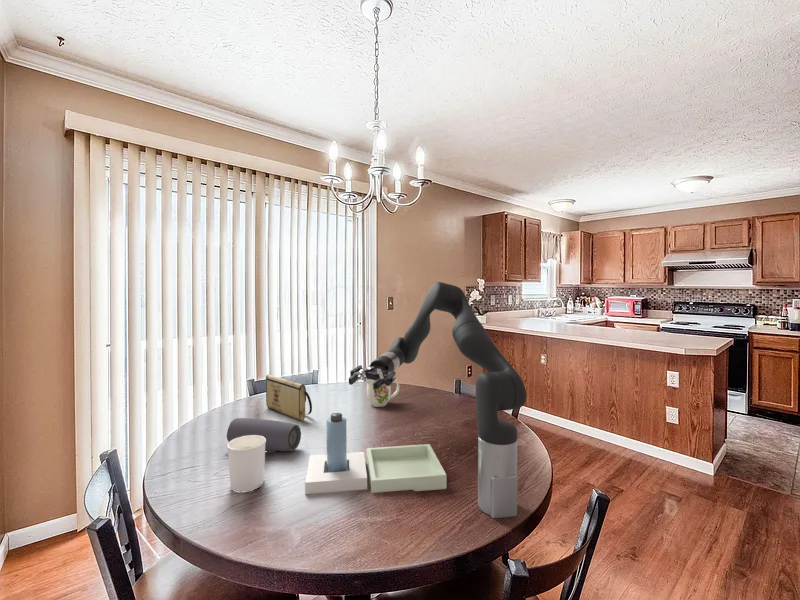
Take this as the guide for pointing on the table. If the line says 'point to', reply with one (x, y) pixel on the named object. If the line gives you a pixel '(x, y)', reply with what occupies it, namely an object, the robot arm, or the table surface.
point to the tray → (405, 469)
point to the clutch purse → (286, 397)
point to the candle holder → (246, 462)
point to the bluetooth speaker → (267, 432)
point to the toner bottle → (336, 443)
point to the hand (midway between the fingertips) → (361, 384)
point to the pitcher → (380, 393)
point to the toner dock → (336, 475)
